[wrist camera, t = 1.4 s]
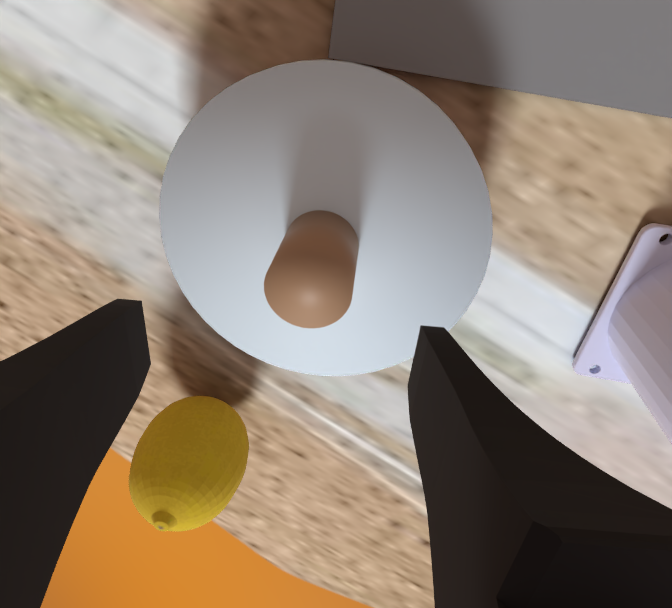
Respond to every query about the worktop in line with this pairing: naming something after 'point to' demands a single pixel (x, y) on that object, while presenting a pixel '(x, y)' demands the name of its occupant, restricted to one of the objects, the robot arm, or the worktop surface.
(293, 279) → the lid
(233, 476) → the lemon
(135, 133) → the worktop surface
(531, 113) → the worktop surface
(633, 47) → the mat
